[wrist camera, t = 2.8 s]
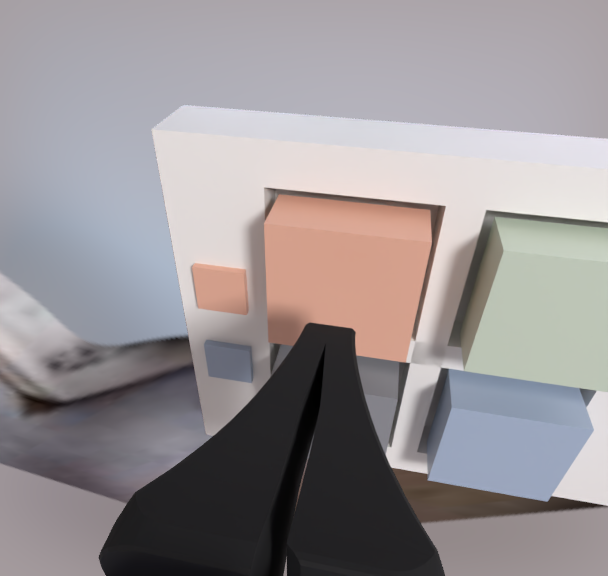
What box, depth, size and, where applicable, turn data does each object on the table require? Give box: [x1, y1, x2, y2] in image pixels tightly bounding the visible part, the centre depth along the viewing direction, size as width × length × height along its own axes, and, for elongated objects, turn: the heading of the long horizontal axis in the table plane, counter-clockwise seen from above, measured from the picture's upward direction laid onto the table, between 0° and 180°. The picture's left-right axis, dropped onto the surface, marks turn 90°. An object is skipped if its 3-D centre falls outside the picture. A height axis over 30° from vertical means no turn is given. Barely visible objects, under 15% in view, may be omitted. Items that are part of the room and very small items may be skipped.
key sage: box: [460, 217, 608, 392], centre depth 15 cm, size 5×5×2 cm
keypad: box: [151, 105, 608, 506], centre depth 19 cm, size 20×16×3 cm
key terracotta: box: [264, 194, 432, 363], centre depth 16 cm, size 5×5×2 cm
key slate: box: [427, 369, 594, 502], centre depth 20 cm, size 5×5×2 cm
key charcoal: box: [271, 344, 399, 459], centre depth 21 cm, size 5×5×2 cm
